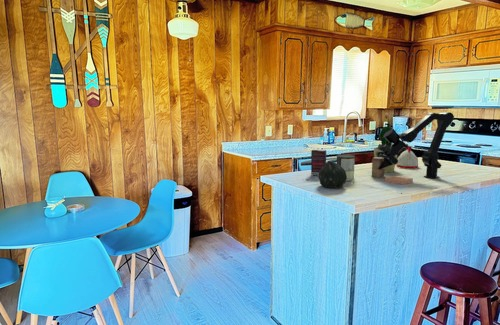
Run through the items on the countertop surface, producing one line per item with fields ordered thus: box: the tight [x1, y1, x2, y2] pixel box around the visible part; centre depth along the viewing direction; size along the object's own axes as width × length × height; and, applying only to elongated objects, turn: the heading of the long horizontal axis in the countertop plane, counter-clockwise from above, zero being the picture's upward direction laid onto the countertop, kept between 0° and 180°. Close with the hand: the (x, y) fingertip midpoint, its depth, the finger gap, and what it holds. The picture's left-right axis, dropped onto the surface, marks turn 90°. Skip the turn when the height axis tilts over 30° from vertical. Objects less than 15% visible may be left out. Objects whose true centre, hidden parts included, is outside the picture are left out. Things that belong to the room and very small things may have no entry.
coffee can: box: [336, 154, 356, 182], centre depth 202 cm, size 10×10×14 cm
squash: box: [317, 160, 347, 189], centre depth 184 cm, size 14×15×15 cm
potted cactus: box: [373, 125, 398, 173], centre depth 227 cm, size 15×15×30 cm
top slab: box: [384, 175, 414, 185], centre depth 190 cm, size 10×10×2 cm
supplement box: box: [310, 149, 327, 177], centre depth 215 cm, size 9×5×16 cm, turn 65°
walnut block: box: [371, 157, 385, 179], centre depth 203 cm, size 5×5×12 cm
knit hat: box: [396, 145, 419, 170], centre depth 242 cm, size 14×14×15 cm
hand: (376, 167), depth 203 cm, fingers closed on walnut block, 7 cm apart
